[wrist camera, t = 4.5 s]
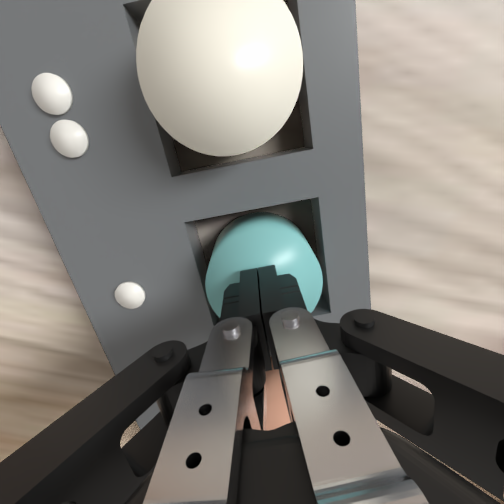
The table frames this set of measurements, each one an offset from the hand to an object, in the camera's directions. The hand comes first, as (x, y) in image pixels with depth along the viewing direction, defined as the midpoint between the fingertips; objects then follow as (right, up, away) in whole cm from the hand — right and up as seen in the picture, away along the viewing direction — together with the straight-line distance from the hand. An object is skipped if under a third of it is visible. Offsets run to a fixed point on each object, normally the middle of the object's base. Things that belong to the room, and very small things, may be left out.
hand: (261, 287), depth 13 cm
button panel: (-2, +1, +3) cm, 4 cm away
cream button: (-1, +8, -1) cm, 8 cm away
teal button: (0, +1, +3) cm, 3 cm away
